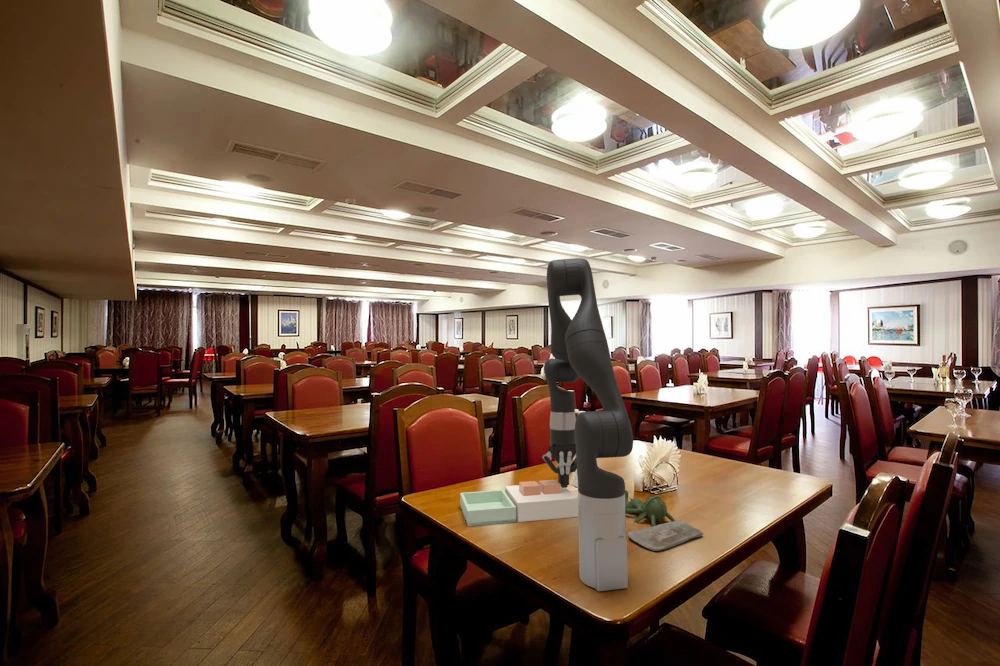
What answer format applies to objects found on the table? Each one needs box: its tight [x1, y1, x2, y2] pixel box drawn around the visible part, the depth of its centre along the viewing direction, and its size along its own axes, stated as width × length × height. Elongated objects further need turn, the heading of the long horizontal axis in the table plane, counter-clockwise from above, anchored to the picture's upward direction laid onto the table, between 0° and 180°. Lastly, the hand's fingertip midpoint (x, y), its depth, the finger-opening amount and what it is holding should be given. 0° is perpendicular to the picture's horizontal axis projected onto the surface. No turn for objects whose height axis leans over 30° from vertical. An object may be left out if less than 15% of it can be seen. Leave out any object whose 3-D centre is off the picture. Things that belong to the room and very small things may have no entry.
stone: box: [627, 519, 704, 552], centre depth 113 cm, size 18×3×10 cm
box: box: [459, 489, 517, 527], centre depth 131 cm, size 16×13×4 cm
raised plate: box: [504, 484, 579, 523], centre depth 134 cm, size 16×17×5 cm
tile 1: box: [518, 480, 541, 496], centre depth 134 cm, size 5×5×2 cm
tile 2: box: [538, 479, 561, 494], centre depth 135 cm, size 5×5×2 cm
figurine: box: [625, 489, 676, 527], centre depth 128 cm, size 11×8×19 cm
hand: (563, 486), depth 136 cm, fingers closed
